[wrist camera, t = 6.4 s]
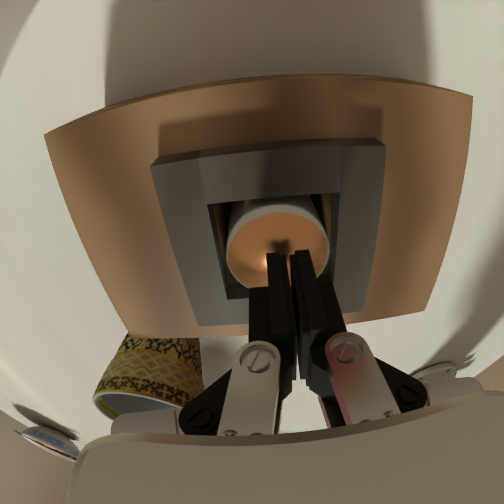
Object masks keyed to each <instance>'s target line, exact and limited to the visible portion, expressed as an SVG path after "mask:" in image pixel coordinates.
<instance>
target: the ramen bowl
mask: <svg viewBox="0 0 504 504" xmlns="http://www.w3.org/2000/svg"><path fill="white" fill-rule="evenodd" d="M16 432H17V431H16ZM19 434H21V435H22V436H23V437H24V438H26V439H27V440H29V441H30V442H32V443H33V444H35V445H37V446H39V447H40V448H42V449H44V450H46V451H48V452H50V453H52V454H55V455H57V456H59V457H62V458H64V459H67V460H70V461H73V462H76V460H77V457H78V455H79V453H80V451H79V449H78V447H77V446H76V445H75V444H74V443H73V442H72V441H70V440H69V439H68V438H67V436H66V435H65V434H63V433H61V432H59V431H58V430H55V429H53V428H51V427H40V426H34V427H30V428H27V429H26V430H24V431H23V432H22V433H19Z"/></svg>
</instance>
